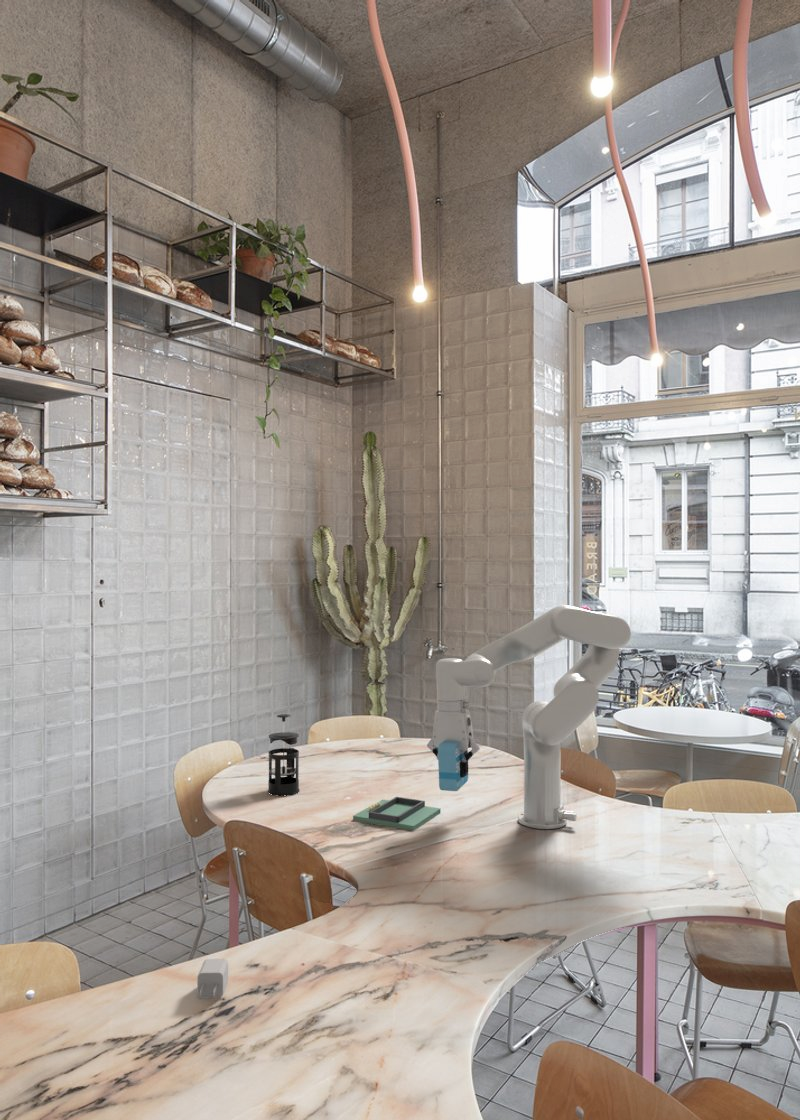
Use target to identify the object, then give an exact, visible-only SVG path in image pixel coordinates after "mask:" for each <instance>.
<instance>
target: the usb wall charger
mask: <svg viewBox="0 0 800 1120" xmlns="http://www.w3.org/2000/svg"><path fill="white" fill-rule="evenodd" d="M196 981H197V982H196V984H197V989H196V990H197V992H196V994H197V997H198V998H199V999H217V998H218V999H221V998H222V997H223V995H224V993H225V989H226V987H227V984H228V981H229V961H228V960H227V958H207V959H205V960H204V961H203V962H202V965H201V967H200V969H199V971H198V974H197V980H196Z"/></svg>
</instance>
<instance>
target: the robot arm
mask: <svg viewBox="0 0 800 1120" xmlns="http://www.w3.org/2000/svg"><path fill="white" fill-rule="evenodd" d="M631 635H632V632H631V627H630V624H628V622H627V621H626V620H625V619H623V618H622V617H620V616H616V615H612V614H607V613H602V612H597V611H592V610H587V609H584V608H579V607H577V606H573V605H572V606H571V605H568V604H561V605H560V604H559V605H557V606H555V607H553V608H551V609H550V610H548V611H546V612H545V613H543V614H541V615H539V616H538V617H536V618H534V619H533V620H531V621H530V622H528V623H526V624H524V625H523V626H520V627H519V628H517V629H516V630H514V631H512V632H509V633H508V634H506V635H504V636H502V637H500V638H499V639H496V640H494V641H493V642H490V643H488V644H486V645H485V646H483V647H481V648H480V649H478V650H476V651H475V652H473V653H471V654H470V655H468V656H467V658H465V660H464V659H461V658H456V657H453V658H452V657H448V658H442V659H441V658H440V659H439V660H437V662H436V663H435V674H436V675H435V677H436V678H435V679H436V702H437V703H436V706H437V710H435V712H434V718H433V726H432V727H433V728H432V737H431V738H430V740H429V741H428V743H427V744H426V746H427V748H428V749H429V750H430V751H431V752H432V754H434V755H435V757H436V759H437V760H438V747H439V744H440V743H442V742H454V743H458V745H459V751H460V756H461V762H460V777H462V778H463V777H465V776H466V775H467V773H468V774H469V761H470V759H471V758H472V757H473V756H474V755H475V754H476V753H478V752H479V751H480V750H481V748H480V746H479V745H478V744H477V742H476V741H475V739H474V730H473V729H474V728H473V723H472V717H471V713H470V710H467V709H468V708H469V709H470V708H471V705H472V703H471V702H468V701H467V698H466V687H473V688H475V687H476V688H484V687H488V686H490V685H491V684H492V683H494V680H495V678H496V674H497V673H496V672H497V671H499V670H501V669H502V668H504V667H506V666H508V665H511V664H513V663H517V662H522V661H528V660H531V659H534V658H536V657H538V656H539V655H541V654H542V653H544V652H545V651H547V650H548V649H549V650H550V648H552V647H554V646H556V645H557V644H559V643H561V642H562V641H564V640H569V641H573V642H576V643H580V644H586V645H588V647H587V649H586V651H585V653H584V654H583V656H581V658H580V659H579V660H578V661H577V662H576V663H575V664H574V665H573V666H571V668H569V670H568V671H566V672H565V674H564V675H562V676H561V677H560V678H559V679H557V681H556V683H555V685H554V687H553V697H554V698H552V699H551V701H549V702H548V701H545V700H536V701H533V702H531V703H530V704H528V706H527V707H526V708H525V709H524V711H523V715H522V723H521V724H522V725H521V726H522V727H521V728H522V736H523V812H520V813H519V814H518V816H517V821H518V822H519V823H520V824H521V825H522V826H524V827H528V828H532V829H537V830H538V829H539V830H555V829H559V828H563V827H565V826H566V825H567V821H571V822H576V821H577V813H575V811H572V810H566V809H565V806H564V805H565V804H562V803H561V800H562V799H561V785H562V784H561V781H562V780H561V760H562V759H561V757H562V756H561V755H562V754H561V743H562V742H564V741H565V740H566V739H568V737H570V735H572V734H573V733H574V731H575V732H576V730H577V729H578V728H579V727H580V726H581V725H582V724H583V723H584V722H585V721H587V719H588V718H589V717H590V716H591V715H592V714H593V713H594V711H595V710H596V709H597V706H598V703H599V700H600V699H599V698H600V694H599V690H598V689H599V688H601V686H602V685H603V684H604V683H605V681H606V680H608V678H610V676H611V675H612V674H613V673H614V672H615V669H616V667H617V665H618V662H619V659H620V658H619V657H620V650H621V648H623V647H624V646H626V645H627V644H628V643H629V641H630V639H631ZM469 748H471V749H470V750H469V751H468V750H467V749H469ZM564 825H565V826H564Z"/></svg>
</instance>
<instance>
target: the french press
mask: <svg viewBox="0 0 800 1120" xmlns="http://www.w3.org/2000/svg"><path fill="white" fill-rule="evenodd" d="M291 716H292V715H291V714H289V713H288V714H287V713H281V714H278V715H276V717H277V718H282V719H281V722H282V723H283V724H282V732H274V733H270V734H269V735H268V738H269V744H273V743H274V742H276V741H282V747H281V748H275V749H274V748H273V749H270V750H269V751H268V784H267V785H268V786H267V787H268V788H267V789H268V790H267V794H268V793H270V794H272V795H271V796H273V795H278V796H277V797H288V796H287V795H291V796H294V794H295V795H297V794H299V793H300V787H299V785H300V783H299V782H300V780H299V765H300V764H299V761H300V760H299V756H300V755H299V754H300V750H298V749H297V748H294V747H285V744H287V745H290V746H292V745H296V744H297V743H298V738H299V736H300V735H299V733H296V732H292V731H291V732H288V731H286V732H285V722H286V718H291ZM281 753H282V754H281ZM285 753H286V754H285ZM272 760H274V768H273V767H272V766H273V761H272ZM285 761H286V766H285ZM281 763H282V764H281ZM281 765H282V766H281ZM272 776H274V777H273V778H272ZM298 792H299V793H298ZM296 793H297V794H296ZM270 794H269V795H270ZM284 795H286V796H284Z"/></svg>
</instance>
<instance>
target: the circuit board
mask: <svg viewBox="0 0 800 1120" xmlns="http://www.w3.org/2000/svg"><path fill="white" fill-rule="evenodd" d="M440 814H441V808H439V807H432V806H428V805H427V806H426V801H425V800H420V799H413V798H407V797H401V796H395V797H393V798H392V799H390V800H388V799H380V800H379V801H377V802H375V803H374V804H371V805H370V806H368V807H367V808H364V809H363V810H361V811H359V812H357V813H356V814H354V815H352V820H353V821H355V820H357V821H356V822H360V821H362V822H361V823H366V822H368V823H367V824H372V823H374V824H373V825H379V826H384V827H389V828H390V827H391V828H397V829H401V830H402V829H403V830H407V831H413V832H414V831H416V830H417V829H419V828H420V827H421V826H423V825H424V824H426V823H428V822H430V821H431V820H433V819H434V818H435V817H437V816H438V815H440Z"/></svg>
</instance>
